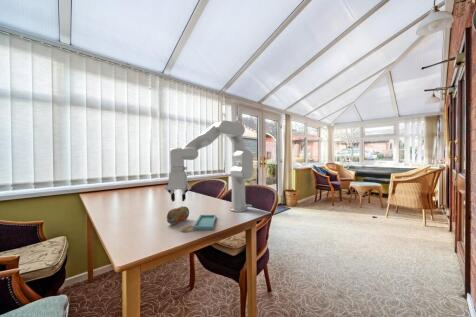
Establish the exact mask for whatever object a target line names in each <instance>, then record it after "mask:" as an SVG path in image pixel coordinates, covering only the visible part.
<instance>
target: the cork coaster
mask: <svg viewBox="0 0 476 317" xmlns="http://www.w3.org/2000/svg"><path fill="white" fill-rule="evenodd" d="M193 226H194V225H184V226H182V227H180V228H179V231H180V232H182V233H190V232H194V231H195V230H194V229H193Z"/></svg>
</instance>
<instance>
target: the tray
mask: <svg viewBox="0 0 476 317" xmlns="http://www.w3.org/2000/svg"><path fill="white" fill-rule="evenodd" d="M216 220H217V214H200V215H199V216H198V217H197V219H196V221H195V222H194V224H193V225H192V226H193V229H194V231H213V229H214V227H215V223H216Z"/></svg>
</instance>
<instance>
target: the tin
mask: <svg viewBox="0 0 476 317" xmlns="http://www.w3.org/2000/svg"><path fill="white" fill-rule="evenodd" d="M189 215H190V210H189V208H188V207H187V206H179V207H175V208H172V209H170V210H169V211H168V213H167V214H166V222H167V223H168V224H169V225H174V226H175V225H178V224H179V223H182V222H185V221H187V219H188V218H189Z"/></svg>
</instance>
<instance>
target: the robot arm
mask: <svg viewBox="0 0 476 317" xmlns="http://www.w3.org/2000/svg"><path fill="white" fill-rule="evenodd" d="M245 130H246V128H245V126H244V124H243V123H240V122H236V121H231V120H226V119H225V120H219V121H215V122H214V123H212V124H211V125H210V126H209V127H208V128H207V129H206V130H204V131H202V133H200V134H199V135H198V136H196V137H194V138H193V139H192V140H190V141H189V142H187V143H185V145H184V146H183V147H171V148H170V150H169V152H170V153H169V158H170V171H169V173H168V184H166V186H165V188H164V190H166V191H167V192H168V193H169V195H170V198H171V199H170V200H171V201H172V202H175V201H176V196H175V195H176V194H175V191H176V190H181V191H182V194H181V200H182V202H185V200H186V196H187V195H186V193H187V192H189V191H190V190H191V189H192V186H191V185H190V184H189V183H188V176H187V174H188V173H187V171H186V170H188V167H187V166H185V161H194V160H196V159H197V158H198V157H199V150H200V149H203V148H206V147H208V146H210V145H211V144H213V142H215V141H216V140H217V139H218V138H219V137H220V136H221V135H226V137H228V139H229V140H230V142H231V151H232V152H231V155H232V156H231V157H232V158H231V159H232V161H233V162H234V163H236V164H235V165H233V166H231V168H230V169H229V170H230V171H229V172H230V180H231V206H230V207H229V211H231V212H234V213H236V212H237V213H241V212H246V211H247V210H248V208H253V206H252V204H248V203H246V182H245V180H250V179H251V178H252V177H253V174H254V156H253V153H252V151H251V150H250V149H247V148H245V142H244V139H243V137H242V136H243V135H244V134H245V133H246V132H245Z"/></svg>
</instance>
